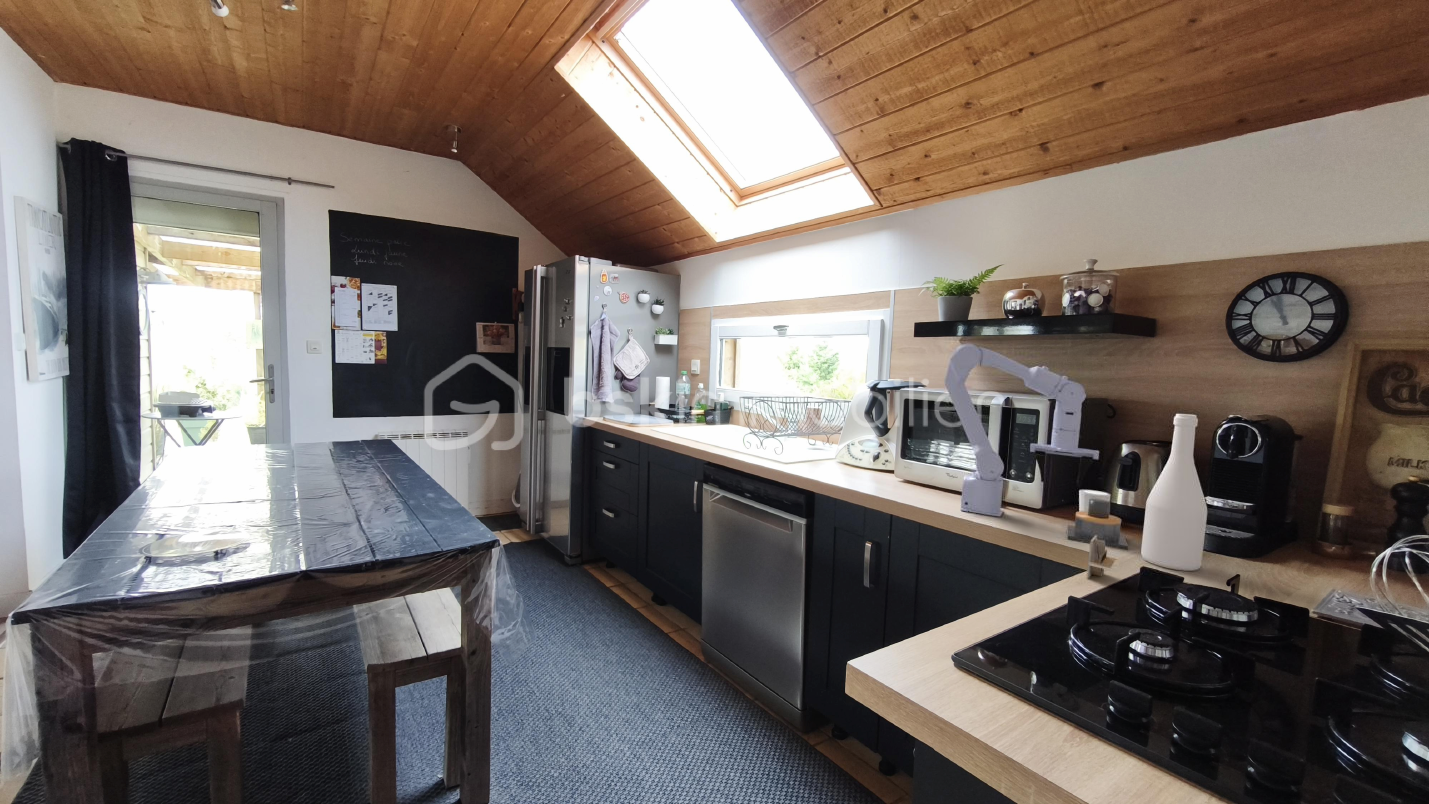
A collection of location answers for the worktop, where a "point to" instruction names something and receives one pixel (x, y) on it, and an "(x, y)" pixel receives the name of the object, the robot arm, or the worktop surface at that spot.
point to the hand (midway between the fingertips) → (1060, 483)
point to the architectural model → (1098, 558)
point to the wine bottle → (1176, 506)
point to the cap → (1098, 513)
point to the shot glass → (1090, 494)
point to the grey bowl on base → (1097, 533)
